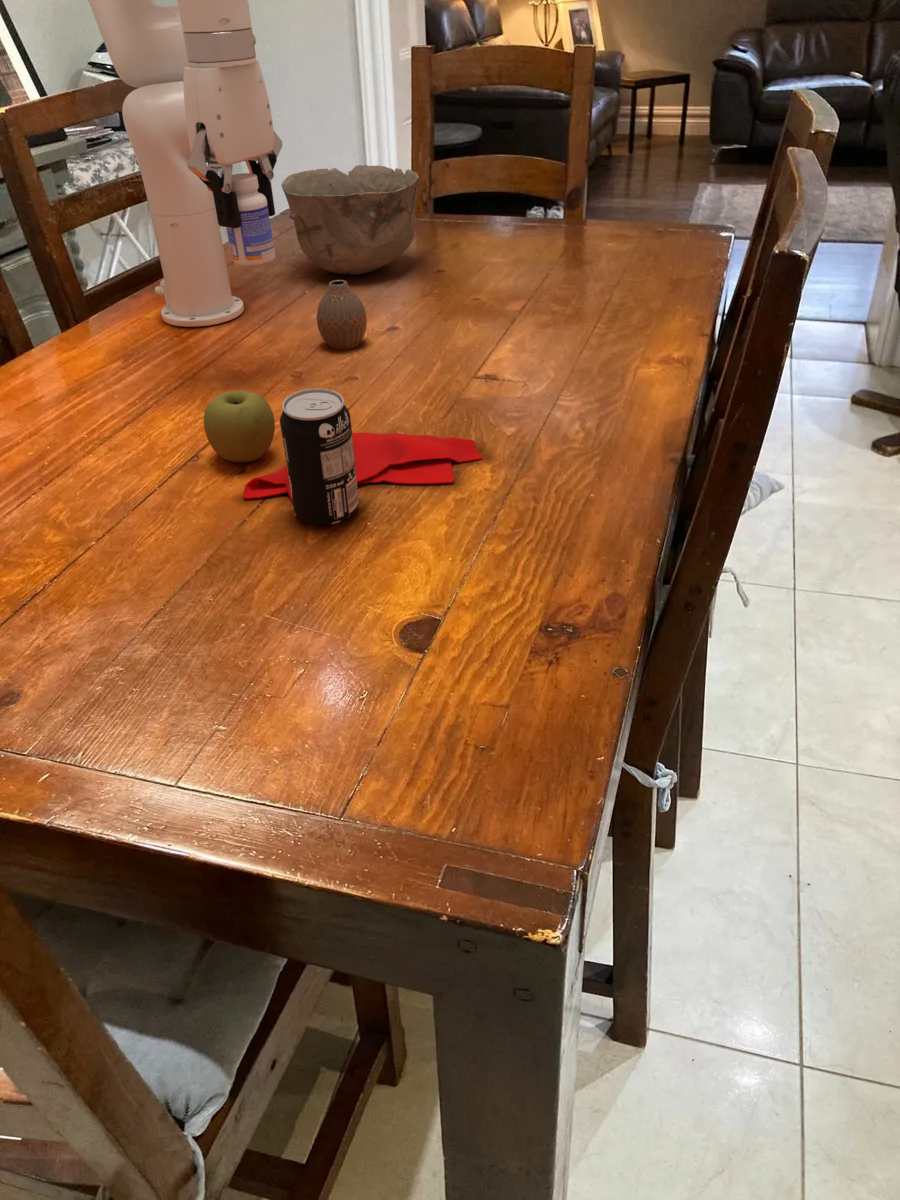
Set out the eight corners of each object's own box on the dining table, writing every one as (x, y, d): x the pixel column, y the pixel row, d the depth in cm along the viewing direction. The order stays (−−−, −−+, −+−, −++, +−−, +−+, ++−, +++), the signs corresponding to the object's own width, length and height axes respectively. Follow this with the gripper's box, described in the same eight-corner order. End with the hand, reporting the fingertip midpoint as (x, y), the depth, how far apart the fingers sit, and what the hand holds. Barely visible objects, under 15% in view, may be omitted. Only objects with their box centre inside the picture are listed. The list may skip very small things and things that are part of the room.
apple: (222, 480, 101) (210, 418, 97) (202, 451, 107) (190, 392, 102) (289, 462, 103) (279, 402, 99) (266, 435, 109) (256, 377, 105)
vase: (361, 354, 129) (355, 290, 124) (313, 352, 130) (305, 289, 125) (374, 336, 135) (368, 275, 130) (328, 335, 136) (321, 273, 131)
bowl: (445, 262, 164) (442, 169, 155) (372, 298, 149) (363, 198, 140) (346, 247, 173) (337, 159, 165) (268, 280, 159) (254, 185, 150)
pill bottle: (283, 255, 118) (271, 172, 113) (263, 267, 114) (250, 181, 108) (244, 253, 120) (231, 171, 114) (224, 265, 116) (209, 180, 110)
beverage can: (295, 493, 97) (279, 388, 89) (359, 489, 97) (348, 383, 89) (292, 530, 92) (275, 422, 84) (360, 526, 92) (348, 417, 84)
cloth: (470, 426, 109) (470, 408, 108) (492, 482, 98) (492, 462, 97) (245, 449, 107) (242, 430, 105) (242, 508, 96) (238, 489, 94)
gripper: (247, 41, 111) (270, 202, 122) (138, 57, 99) (174, 234, 110) (296, 41, 108) (315, 208, 118) (189, 59, 96) (221, 241, 107)
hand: (247, 219), depth 114 cm, fingers closed on pill bottle, 5 cm apart
